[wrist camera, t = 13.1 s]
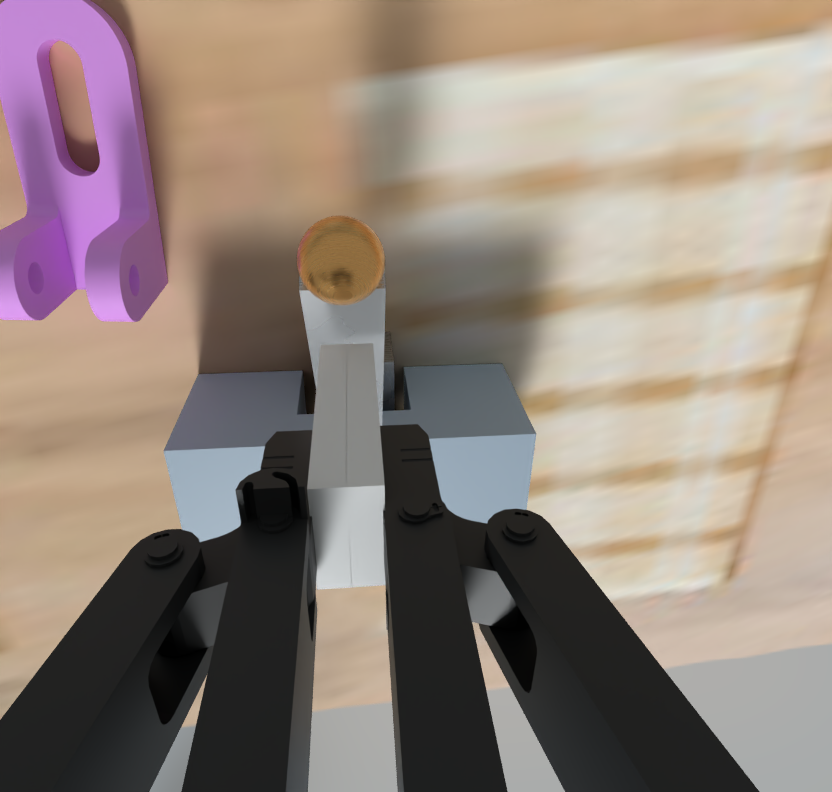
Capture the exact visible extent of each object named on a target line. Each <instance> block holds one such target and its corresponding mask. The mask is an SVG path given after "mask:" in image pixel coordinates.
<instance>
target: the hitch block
mask: <svg viewBox="0 0 832 792" xmlns="http://www.w3.org/2000/svg"><path fill="white" fill-rule="evenodd" d="M313 421H314V414H307V413H306V402H305V391H304V381H303V370H302V371H274V372H246V373H217V374H198V376H197V378H196V380H195V383H194V385H193V387H192V389H191V391H190V394H189V396H188V398H187V400H186V403H185V405H184V407H183V409H182V411H181V414H180V416H179V418H178V420H177V422H176V425H175V427H174V429H173V431H172V433H171V436H170V438H169V440H168V442H167V445H166V447H165V449H164V455H165V459H166V463H167V467H168V472H169V476H170V480H171V484H172V488H173V493H174V497H175V501H176V505H177V510H178V514H179V518H180V522H181V526H182V530H185V531H189V532H192V533H193V534H194V535H195V536H196V537H198V538H199V541H200V542H202V541H206V540H209V539H213V538H216V537H219V536H222V535H225V534H227V533H229V532H231V531H233V530H235V529H237V528H238V527H239V526H240V525H241V520H240V514H239V508H238V503H237V497H236V491H235V490H236V488H237V486H238V484H239V483H240V481H242V480H243V479H244V478H245V477H247V476H248V475H250V474H252V473H254V472H257V471H259V470H261V463H262V460H263V454H264V449H265V444H266V443H267V441H268V440H269V439H270V438H271V437H272V436H273V435H274V434H275V433H276V431H299V430H313ZM407 424H418V425H419V426H420V427H421V428H422V429H423V430H424V431H425V432H426V433H427V434H428V436H429V441H430V446H431V451H432V456H433V461H434V466H435V471H436V476H437V480H438V485H439V490H440V495H441V499H442V501H443V502H444V503H445V505H446V507H447V509H448V510H450V511H451V512H452V513H454V514H455V515H457V516H459V517H461V518H464V519H468V520H471V521H476V522H482V523H488V520H489V519H490V518H491V517H492V516H493V515H494V514H495V513H497V512H500V511H502V510H505V509H523V510H526V509H527V501H528V494H529V486H530V478H531V470H532V462H533V455H534V447H535V439H536V432H535V430H534V428H533V426H532V424H531V422H530V420H529V418H528V416H527V414H526V412H525V410H524V408H523V406H522V404H521V401H520V399H519V397H518V395H517V393H516V391H515V389H514V387H513V385H512V383H511V381H510V379H509V377H508V375H507V373H506V371H505V368H504V366H503V364H502V363H501V364H473V365H444V366H416V367H404V410H397V411H383V413H382V426H383V425H407Z"/></svg>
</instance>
